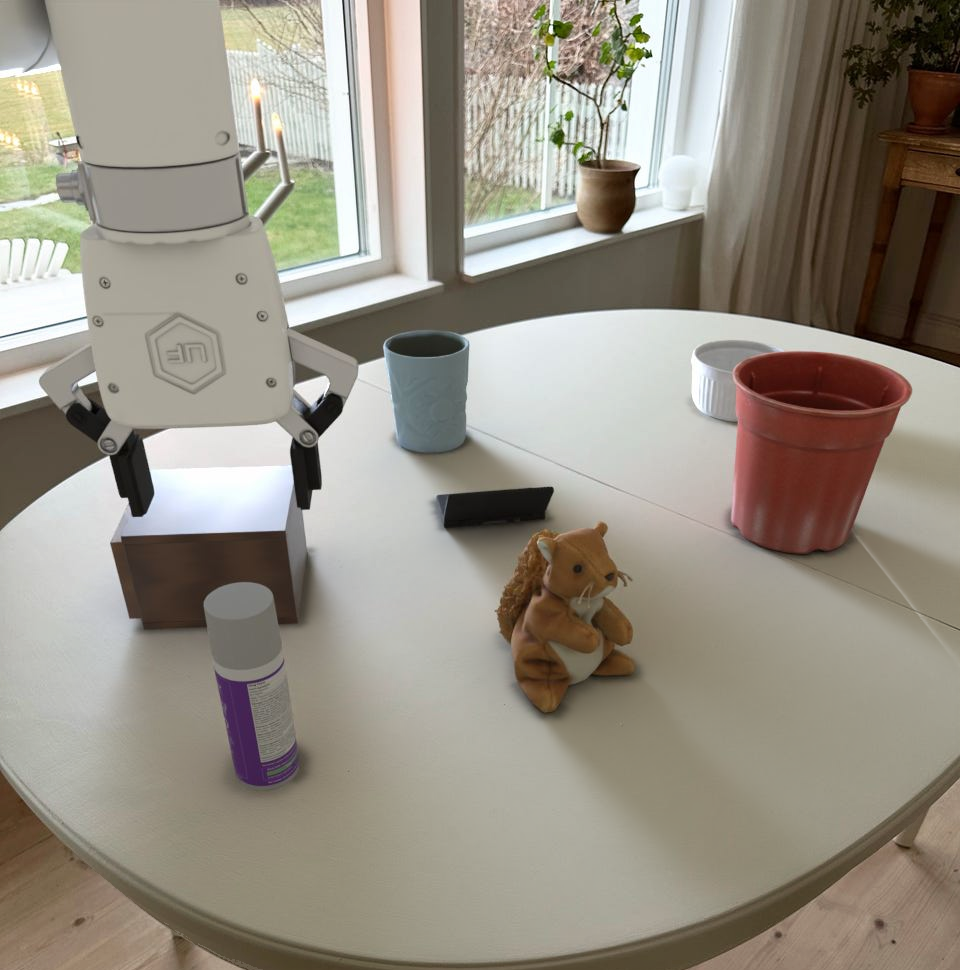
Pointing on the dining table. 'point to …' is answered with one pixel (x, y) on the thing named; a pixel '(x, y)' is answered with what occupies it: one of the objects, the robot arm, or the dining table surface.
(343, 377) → the robot arm
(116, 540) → the drawer
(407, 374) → the light blue cup
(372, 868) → the dining table surface
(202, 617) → the cabinet
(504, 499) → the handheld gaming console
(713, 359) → the ramekin
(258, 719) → the container
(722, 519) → the dining table surface
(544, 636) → the stuffed squirrel
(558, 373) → the dining table surface
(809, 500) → the flower pot
